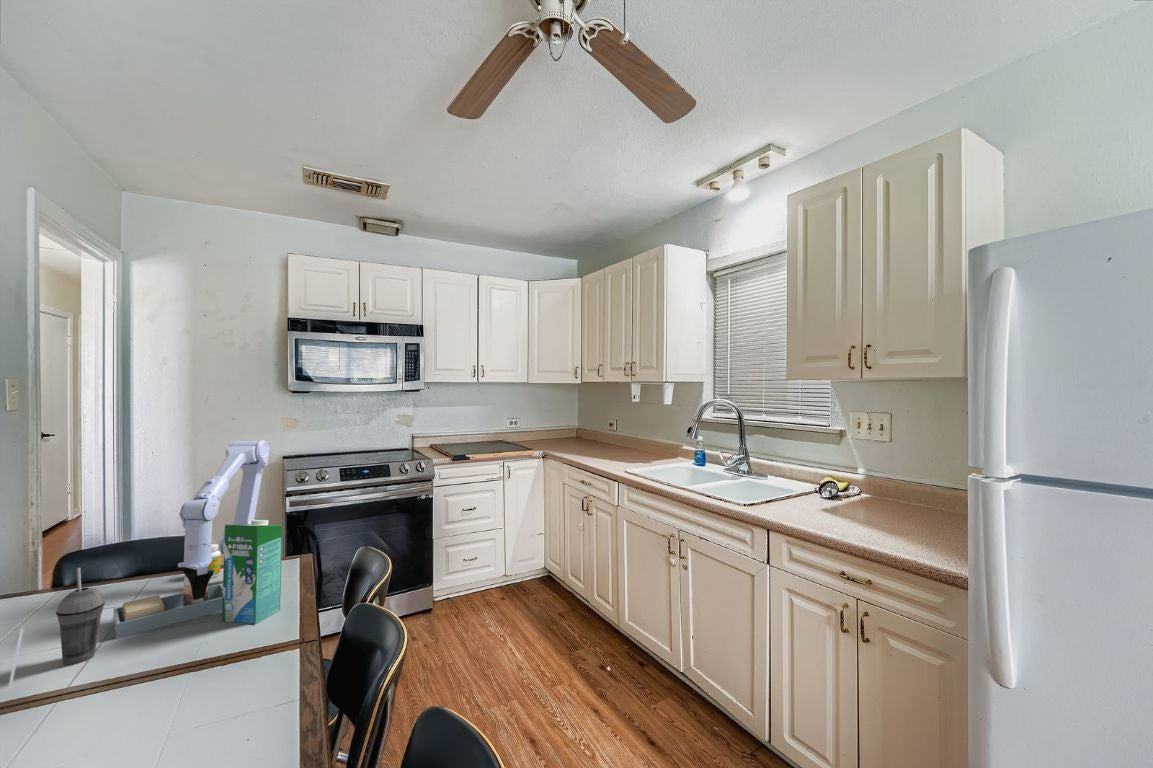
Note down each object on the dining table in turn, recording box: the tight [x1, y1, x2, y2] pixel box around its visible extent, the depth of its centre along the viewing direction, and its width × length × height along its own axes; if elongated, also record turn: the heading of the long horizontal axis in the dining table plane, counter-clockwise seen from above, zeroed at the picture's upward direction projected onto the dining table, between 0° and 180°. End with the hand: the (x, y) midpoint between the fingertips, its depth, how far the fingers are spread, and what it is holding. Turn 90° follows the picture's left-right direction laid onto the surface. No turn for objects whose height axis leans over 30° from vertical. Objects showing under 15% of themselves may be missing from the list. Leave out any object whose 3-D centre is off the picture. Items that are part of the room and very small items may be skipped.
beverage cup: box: [55, 567, 106, 666], centre depth 101 cm, size 7×7×20 cm
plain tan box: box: [122, 594, 164, 622], centre depth 117 cm, size 7×9×5 cm
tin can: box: [182, 575, 209, 607], centre depth 124 cm, size 5×5×9 cm
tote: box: [112, 583, 223, 640], centre depth 121 cm, size 22×12×4 cm, turn 137°
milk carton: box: [221, 519, 283, 626], centre depth 122 cm, size 9×9×25 cm
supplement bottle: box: [208, 543, 222, 579], centre depth 150 cm, size 5×5×10 cm
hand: (196, 595), depth 124 cm, fingers open, 6 cm apart
